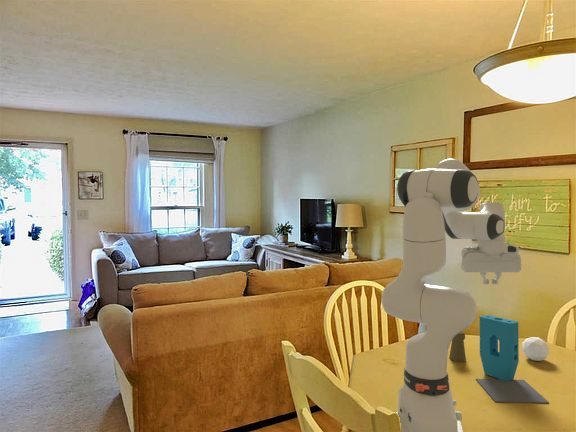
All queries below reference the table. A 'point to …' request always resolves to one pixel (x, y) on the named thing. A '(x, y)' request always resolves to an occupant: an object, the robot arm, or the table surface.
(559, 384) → the table surface
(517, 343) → the block
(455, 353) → the cork
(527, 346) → the white faceted ball
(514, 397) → the mat
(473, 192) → the robot arm
